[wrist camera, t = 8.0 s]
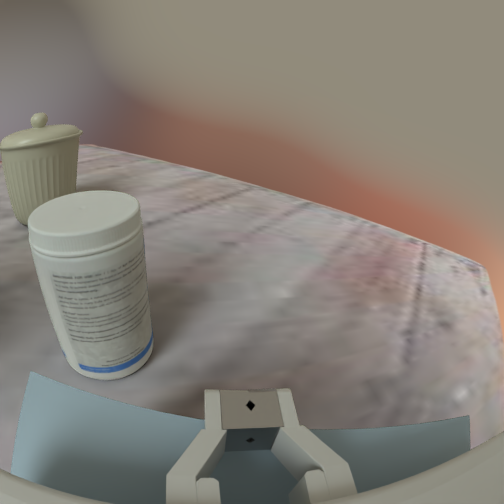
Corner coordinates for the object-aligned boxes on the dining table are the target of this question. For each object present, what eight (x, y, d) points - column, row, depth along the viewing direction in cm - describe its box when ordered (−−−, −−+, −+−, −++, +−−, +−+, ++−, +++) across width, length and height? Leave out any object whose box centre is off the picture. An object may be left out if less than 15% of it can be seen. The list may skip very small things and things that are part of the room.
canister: (99, 203, 61) (98, 105, 51) (58, 240, 45) (49, 113, 35) (37, 200, 59) (32, 112, 49) (-9, 232, 43) (-22, 125, 33)
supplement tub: (170, 336, 30) (168, 198, 24) (121, 401, 22) (84, 248, 15) (100, 307, 32) (84, 183, 26) (47, 356, 24) (5, 218, 17)
